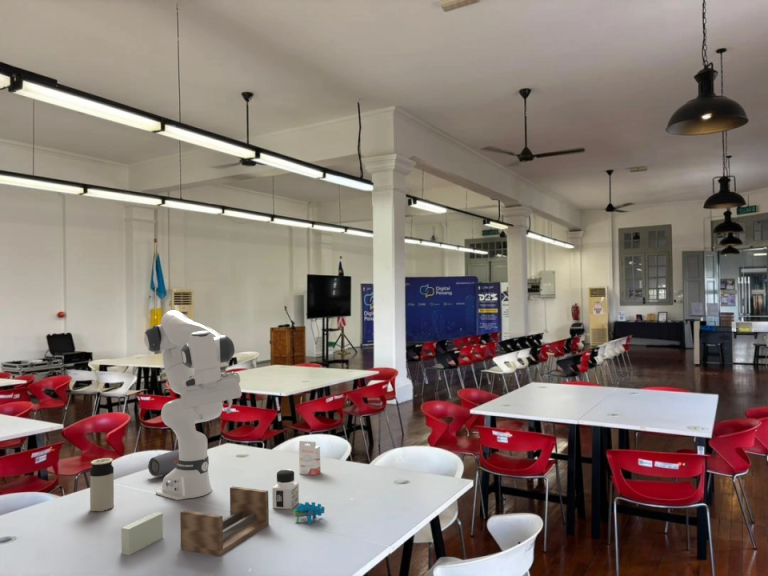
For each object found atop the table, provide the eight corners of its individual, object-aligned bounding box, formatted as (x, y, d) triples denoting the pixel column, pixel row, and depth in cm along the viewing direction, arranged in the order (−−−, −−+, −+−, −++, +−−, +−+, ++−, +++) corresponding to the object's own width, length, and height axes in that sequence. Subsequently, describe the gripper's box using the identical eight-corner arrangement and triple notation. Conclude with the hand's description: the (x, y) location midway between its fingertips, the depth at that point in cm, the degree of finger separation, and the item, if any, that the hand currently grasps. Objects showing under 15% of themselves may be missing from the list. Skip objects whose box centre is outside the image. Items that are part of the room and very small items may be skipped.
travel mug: (118, 506, 213) (118, 458, 214) (100, 513, 206) (99, 464, 207) (104, 503, 217) (103, 457, 217) (85, 510, 209) (85, 462, 210)
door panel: (121, 554, 171) (121, 527, 172) (156, 536, 184) (155, 512, 184) (128, 555, 170) (128, 529, 170) (162, 537, 183) (162, 513, 183)
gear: (328, 511, 199) (320, 498, 192) (327, 528, 194) (318, 515, 188) (299, 514, 200) (289, 502, 194) (297, 531, 196) (287, 518, 189)
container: (291, 509, 206) (291, 474, 206) (272, 508, 208) (271, 473, 208) (299, 502, 214) (298, 468, 214) (280, 501, 215) (279, 467, 216)
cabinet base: (180, 548, 174) (180, 511, 174) (233, 518, 198) (232, 486, 198) (219, 556, 168) (219, 517, 169) (268, 524, 192) (268, 490, 193)
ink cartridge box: (321, 472, 252) (320, 439, 253) (316, 475, 248) (315, 442, 248) (303, 470, 255) (303, 438, 255) (299, 474, 250) (298, 441, 251)
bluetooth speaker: (160, 480, 244) (160, 457, 245) (147, 477, 249) (147, 455, 250) (202, 467, 264) (202, 446, 264) (189, 464, 269) (189, 444, 269)
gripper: (238, 369, 200) (244, 407, 200) (178, 381, 195) (185, 420, 195) (238, 371, 194) (245, 410, 194) (177, 384, 189) (184, 424, 189)
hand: (215, 415), depth 194 cm, fingers open, 8 cm apart
